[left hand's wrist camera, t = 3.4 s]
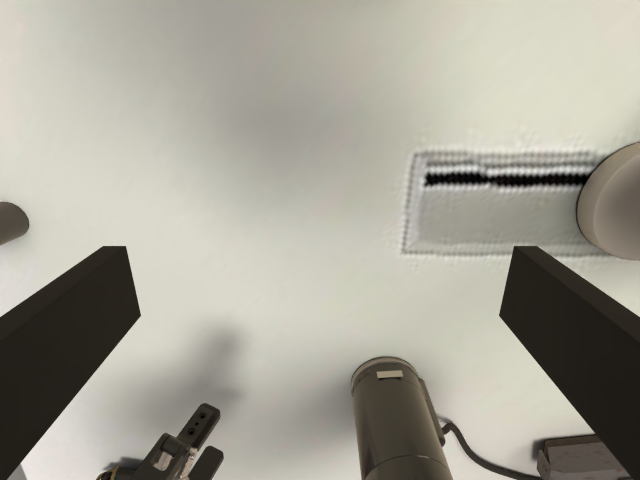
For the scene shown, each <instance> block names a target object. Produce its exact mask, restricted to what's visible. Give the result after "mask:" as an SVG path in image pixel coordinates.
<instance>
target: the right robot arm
mask: <svg viewBox="0 0 640 480" xmlns="http://www.w3.org/2000/svg"><path fill="white" fill-rule="evenodd" d="M351 393H352V397H353V405H354V415H355V424H356V433H357V442H358V451H359V460H360V469H361V478H362V480H453V478H452V475H451V473H450V470H449V467H448V464H447V461H446V458H445V455H444V452H443V450H442V447H443V446H444V444H445V438H444V435H445V434H447V433H448V432H449V431H450V430H452V431H453V432H454V433H455V435H456V437H457V439H458V440H459V442H460V444H461V446H462V448H463V449H464V451H465V452H466V454H467V455H468V456H469V457H470V458H471V459H472V460H473V461H475V462H476V463H477V464H479V465H480V466H482V467H484V468H486V469H488V470H490V471H493V472H495V473H498V474H501V475H504V476H507V477H510V478H513V479H516V480H543V479H538V478H533V477H529V476H525V475H521V474H518V473H515V472H511V471H508V470H505V469H502V468H499V467H496V466H494V465H491V464H489V463H487V462H485V461H483V460H482V459H480V458H479V457H477V456H476V455H475V454H474V453H473V452H472V451H471V449H470V448H469V447H468V445H467V443H466V441H465V439H464V437H463V436H462V434H461V432H460V431H459V429H458V428H457V427H456V426H455V425H454V424H452V423H447V424H446V425H445V426H444V427H443V428H441V427H440V424H439V421H438V418H437V416H436V413H435V410H434V407H433V405H432V402H431V399H430V396H429V394H428V391H427V388H426V386H425V383H424V381H423V380H421V379H419V377H418V375H417V372H416V371H415V369H414V368H413V367H412V366H411V365H410V364H408V363H407V362H405V361H403V360H400V359H397V358H391V357H384V358H377V359H374V360H371V361H369V362H367V363H365V364H363V365H362V366H361V367H360V368H359V369H358V370H357V371H356V372H355V374H354V375H353V377H352V380H351ZM219 419H220V411H219V410H218V409H217V408H215V407H213V406H211V405H208V404H206V403H204V404H201V405H200V406H199V408H198V409H197V410H196V412H195V413H194V414H193V416H192V417H191V418H190V420H189V421H188V423H187V424H186V425H185V427H184V428H183V429H182V431H181V432H180V433H179V435H178V436H177V437H173V436H171V435H169V434H167V433H164V434H163V435H162V436H161V437H160V439H159V440H158V442H157V443H156V444H155V446H154V447H153V448H152V450H151V451H150V452H149V454H148V455H147V456H146V458H145V459H144V461H143V462H142V463H141V465H140V466H139V467H138V469H137V470H136V471H135V473H134V474H133V476H132V477H131V478H130V480H212V478H213V476H214V475H215V473H216V471H217V470H218V468H219V466H220V464H221V463H222V461H223V459H224V456H223V452H222V451H220V450H218V449H216V448H214V447H212V446H208V447H206V448H205V450H204V452H203V453H202V455H201V456H200V458H199V459H198V461H197V462H196V464H195V465H194V467H193V469H192V470H191V472H190V473H189V475H188V472H189V470H190V467H191V465H192V463H193V460H194V458H195V457H196V453H197V452H198V451H199V450H200V448H201V447H202V445H203V444H204V442H205V441H206V439H207V438H208V436H209V435H210V433H211V432H212V430H213V429H214V427H215V425H216V424H217V422H218V421H219ZM160 456H161V458H160V460H159V462H158V464H157V465H154V464H155V463H156V462H157V460H158V459H159V457H160ZM172 457H174V458H173V459H172V461H171V462H170V460H171V458H172ZM169 463H170V464H169ZM178 469H179V470H178ZM177 471H178V472H177Z"/></svg>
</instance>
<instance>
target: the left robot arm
mask: <svg viewBox="0 0 640 480" xmlns="http://www.w3.org/2000/svg"><path fill="white" fill-rule="evenodd" d="M140 316H141V314H140V309H139V304H138V300H137V295H136V291H135V286H134V281H133V277H132V272H131V268H130V263H129V258H128V254H127V249H126V246H103V247H101V248H100V249H98V250H97V251H95V252H94V253H93V254H91V255H90V256H88V257H87V258H85V259H84V260H82V261H81V262H80V263H78V264H77V265H75V266H74V267H72V268H71V269H69V270H68V271H67V272H65V273H64V274H62V275H61V276H59V277H58V278H56V279H55V280H53V281H52V282H51V283H49V284H48V285H46V286H45V287H43V288H42V289H40V290H39V291H38V292H36V293H35V294H33V295H32V296H30V297H29V298H27V299H26V300H24V301H23V302H22V303H20V304H19V305H17V306H16V307H14V308H13V309H11V310H10V311H9V312H7V313H6V314H4V315H3V316H1V317H0V480H7V479H8V478H9V476H10V475H11V474H12V473H13V471H14V470H15V469H16V468H17V467H18V465H19V464H20V463H21V462H22V460H23V459H24V458H25V457H26V456H27V454H28V453H29V452H30V451H31V449H32V448H33V447H34V446H35V445H36V443H37V442H38V441H39V440H40V438H41V437H42V436H43V435H44V434H45V432H46V431H47V430H48V429H49V427H50V426H51V425H52V424H53V423H54V421H55V420H56V419H57V418H58V416H59V415H60V414H61V413H62V411H63V410H64V409H65V408H66V407H67V405H68V404H69V403H70V402H71V400H72V399H73V398H74V397H75V396H76V394H77V393H78V392H79V391H80V389H81V388H82V387H83V386H84V385H85V383H86V382H87V381H88V380H89V378H90V377H91V376H92V375H93V374H94V372H95V371H96V370H97V369H98V367H99V366H100V365H101V364H102V363H103V361H104V360H105V359H106V358H107V356H108V355H109V354H110V353H111V352H112V350H113V349H114V348H115V347H116V345H117V344H118V343H119V342H120V341H121V339H122V338H123V337H124V336H125V334H126V333H127V332H128V331H129V330H130V328H131V327H132V326H133V325H134V323H135V322H136V321H137V320H138V319H139V317H140ZM499 316H500V317H501V319H502V320H503V321H504V322H505V323H506V325H507V326H508V327H509V328H510V330H511V331H512V332H513V333H514V334H515V336H516V337H517V338H518V339H519V341H520V342H521V343H522V344H523V345H524V347H525V348H526V349H527V350H528V352H529V353H530V354H531V355H532V356H533V358H534V359H535V360H536V361H537V363H538V364H539V365H540V366H541V367H542V369H543V370H544V371H545V372H546V374H547V375H548V376H549V377H550V378H551V380H552V381H553V382H554V383H555V385H556V386H557V387H558V388H559V389H560V391H561V392H562V393H563V394H564V396H565V397H566V398H567V399H568V400H569V402H570V403H571V404H572V405H573V407H574V408H575V409H576V410H577V412H578V413H579V414H580V415H581V416H582V418H583V419H584V420H585V421H586V423H587V424H588V425H589V426H590V427H591V429H592V430H593V431H594V432H595V434H596V435H597V436H598V437H599V438H600V440H601V441H602V442H603V443H604V445H605V446H606V447H607V448H608V449H609V451H610V452H611V453H612V454H613V456H614V457H615V458H616V459H617V460H618V462H619V463H620V464H621V465H622V467H623V468H624V469H625V470H626V471H627V473H628V474H629V475H630V476H631V478H632V479H633V480H640V317H639V316H637V315H636V314H634V313H633V312H631V311H630V310H629V309H627V308H626V307H624V306H623V305H621V304H620V303H618V302H617V301H616V300H614V299H613V298H611V297H610V296H608V295H607V294H605V293H604V292H602V291H601V290H600V289H598V288H597V287H595V286H594V285H592V284H591V283H589V282H588V281H587V280H585V279H584V278H582V277H581V276H579V275H578V274H576V273H575V272H573V271H572V270H571V269H569V268H568V267H566V266H565V265H563V264H562V263H560V262H559V261H558V260H556V259H555V258H553V257H552V256H550V255H549V254H547V253H546V252H545V251H543V250H542V249H540V248H539V247H537V246H514V249H513V254H512V258H511V263H510V268H509V272H508V277H507V281H506V286H505V291H504V295H503V300H502V304H501V309H500V314H499Z"/></svg>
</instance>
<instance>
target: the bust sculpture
mask: <svg viewBox="0 0 640 480" xmlns="http://www.w3.org/2000/svg"><path fill="white" fill-rule="evenodd" d="M577 217H578V223H579V226H580V229H581V231H582V233H583V235H584V236H585V237H586V238H587V240H588V241H590V242H591V243H592V244H594V245H595V246H597V247H599V248H601V249H602V250H604V251H606V252H608V253H610V254H612V255H614V256H616V257H618V258H622V259H626V260H640V142H639V143H636V144H633V145H630V146H628V147H625V148H623V149H621V150H619V151H618V152H616V153H614V154H613V155H612V156H610V157H609V158H608V159H606V160H605V161H604V162H603V163H602V164H601V165H600V166H599V167H598V168H597V169H596V170H595V171H594V172H593V174H592V175H591V176H590V178H589V179H588V181H587V182H586V184H585V186H584V188H583V190H582V192H581V195H580V198H579V202H578V209H577Z"/></svg>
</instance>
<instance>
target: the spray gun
mask: <svg viewBox="0 0 640 480" xmlns="http://www.w3.org/2000/svg"><path fill="white" fill-rule="evenodd" d="M157 464H158V463H155V464H154V465H157ZM178 470H179V469H178ZM135 471H136V470H131V469H126V468H121V467H120V466H116V467H115V469H113V470H110V471H107V472H104V473H102V474H100V475H99V476H98V478H97V479H96V480H100V479H101V480H130V478H131V477H132V476H133V474H134V473H135ZM177 472H178V471H177Z"/></svg>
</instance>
